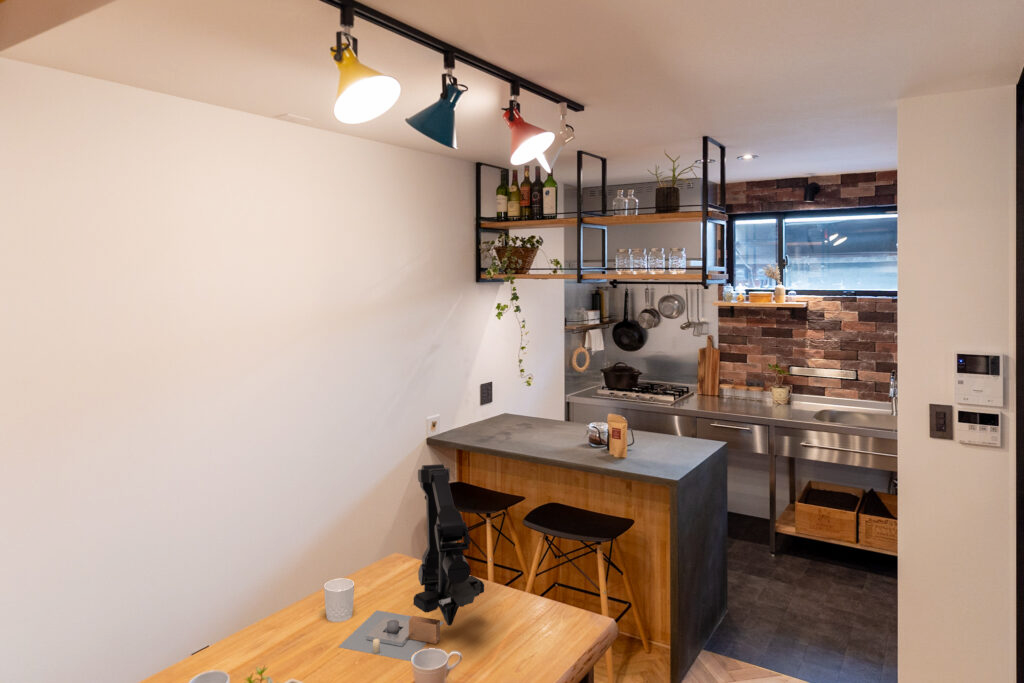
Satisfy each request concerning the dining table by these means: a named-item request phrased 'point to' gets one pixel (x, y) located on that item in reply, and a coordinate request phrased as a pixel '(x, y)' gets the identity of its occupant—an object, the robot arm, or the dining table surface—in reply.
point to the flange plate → (407, 631)
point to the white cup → (339, 599)
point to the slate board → (384, 647)
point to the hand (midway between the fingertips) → (449, 624)
